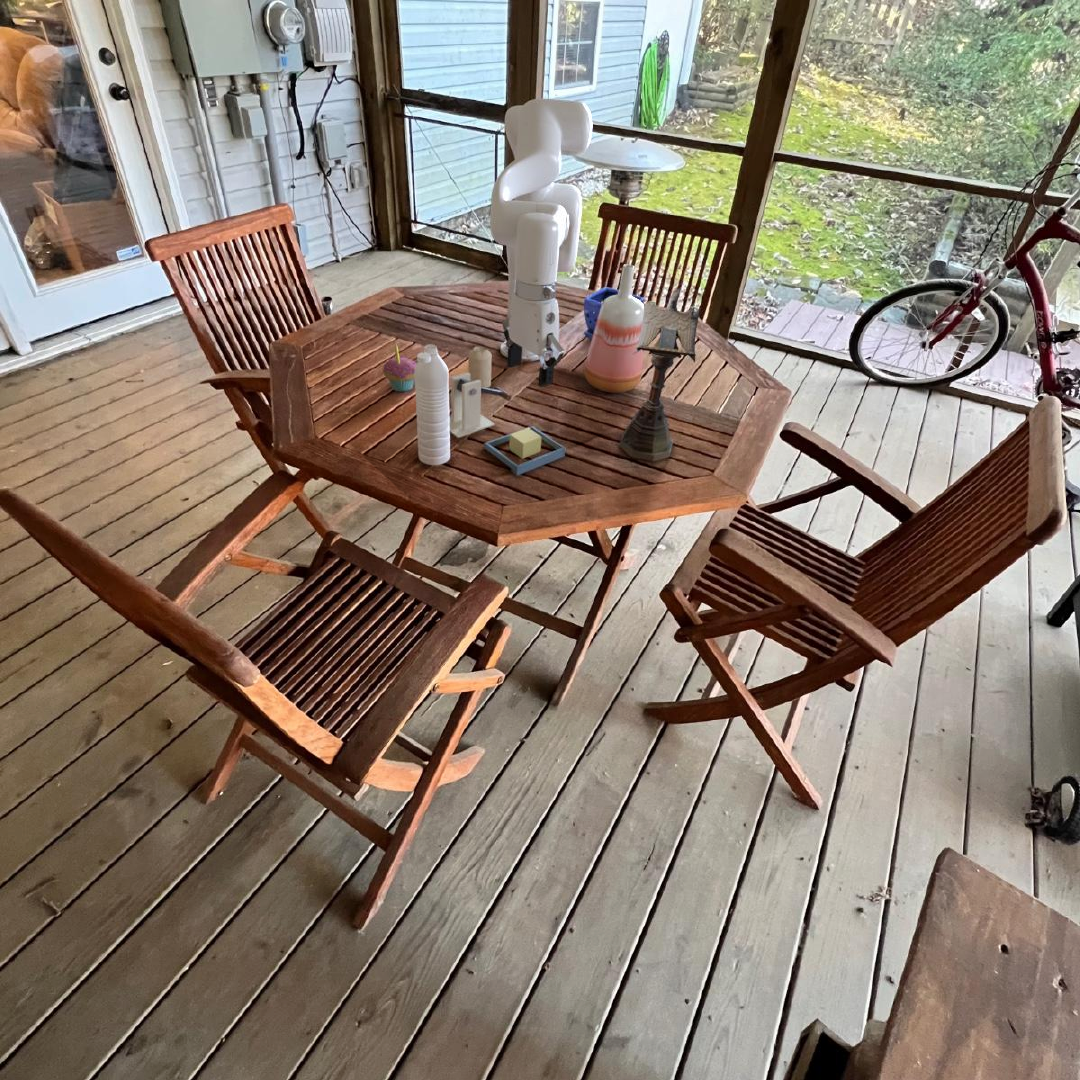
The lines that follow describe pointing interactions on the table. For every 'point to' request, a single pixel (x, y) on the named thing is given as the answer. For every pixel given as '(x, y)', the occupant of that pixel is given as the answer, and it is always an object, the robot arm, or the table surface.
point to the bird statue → (659, 376)
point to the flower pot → (598, 307)
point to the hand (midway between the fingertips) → (529, 375)
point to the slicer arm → (487, 390)
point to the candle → (480, 366)
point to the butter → (525, 443)
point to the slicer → (466, 407)
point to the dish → (532, 463)
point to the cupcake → (400, 372)
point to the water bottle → (432, 407)
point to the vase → (617, 341)
